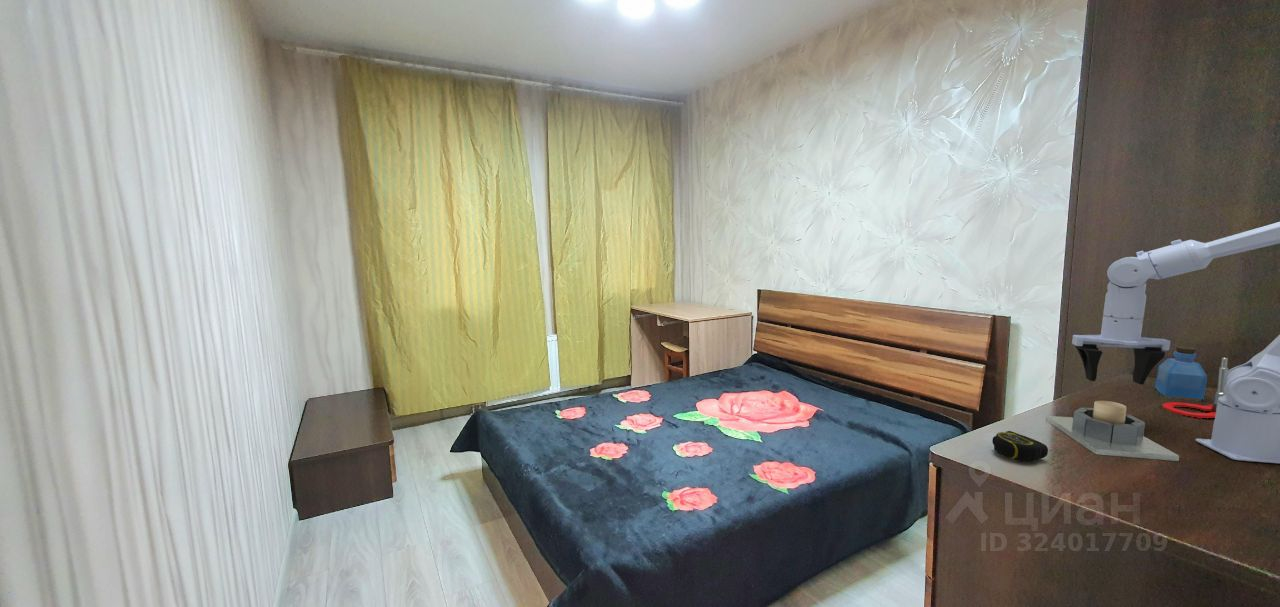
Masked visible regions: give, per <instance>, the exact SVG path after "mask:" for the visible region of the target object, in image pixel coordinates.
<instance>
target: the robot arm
mask: <svg viewBox="0 0 1280 607" xmlns="http://www.w3.org/2000/svg"><path fill="white" fill-rule="evenodd" d="M1278 244H1280V221H1278V222H1274V223H1271V224H1267V225H1264V226H1261V227H1256V228H1254V229H1250V230H1247V231H1242V232H1239V233H1236V234H1232V235H1228V236H1226V237H1225V236H1224V237H1222V238H1219V239H1215V240H1212V241H1208V242H1201V241H1198V240H1194V239H1188V240H1184V241H1182V239H1176V240H1173V241H1171V242H1170V245H1167V246H1163V247H1162V246H1161V247H1160V248H1156V249H1152V250H1149V251H1144V250H1140V251H1137V252H1135V254H1136V256H1126V257H1122V258H1120V259H1117V260H1116V261H1113V262H1112V263H1111V264H1110V266H1109V267H1108V268H1107V273H1106V274H1107V278H1108V280H1109V281H1108V284H1107V286H1106V289H1107V291H1106V293H1105V299H1104V306H1103V312H1102V322H1101V331H1100V334H1082V335H1081V334H1073V335H1072V340H1071V344H1072V345H1074V346H1075V349H1076V351H1077V354H1079V358H1080V359H1081V361H1082V364H1083V368H1084V371H1085V372H1084V373H1085V378H1086V379H1087V380H1088V381H1091V382H1096V380H1097V375H1098V367H1099V362H1100V360H1101V357H1102V355H1103V351H1102V350H1100V349H1099V347H1106V348H1109V347H1110V348H1111V347H1112V348H1124V349H1126V348H1129V349H1133V354H1134V367H1133V374H1132V382H1134V383H1136V384H1137V385H1144V384H1145V382H1146V380H1147V378H1148V376H1149V375H1150V373H1151V372H1152V370H1153V369H1154V367H1155V366H1157V364H1158V363H1160V362H1161V361H1162V360H1163V359H1164V358H1165V356H1166V351H1169V350H1170V347H1171V340H1168V339H1165V338H1156V337H1155V338H1152V337H1144V336H1142V332H1143V326H1144V325H1143V323H1144V316H1145V310H1146V302H1147V294H1146V289H1147V281H1148V280H1149V279H1150V280H1162V279H1167V278H1171V277H1175V276H1180V275H1182V274H1187V273H1191V272H1194V271H1200V270H1204V269H1206V268H1207V267H1208V266H1209V264H1210V263H1211V262H1212V261H1213V260H1214V259H1218V258H1222V257H1226V256H1230V255H1234V254H1239V253H1240V254H1241V253H1243V252H1249V251H1251V250H1252V251H1253V250H1257V249H1260V248H1265V247H1270V246H1273V245H1278ZM1224 381H1225V384H1226V386H1225V393H1226V395H1224V396H1221V397H1219V398H1218V402H1217V408H1216V414H1215V419H1213V425H1212V426H1213V427H1212V432H1211V438H1210V439H1209V438H1206V439H1205V438H1195V442H1196V443H1199V444H1201V445H1202V446H1205V447H1206V448H1209V449H1211V450H1213V451H1214V452H1218V453H1219V454H1221V455H1223V456H1226V457H1227V458H1229V459H1230V460H1235V461H1243V462H1244V461H1245V462H1255V463H1256V462H1257V463H1268V464H1269V463H1270V464H1280V334H1278V336H1276V338H1274V339H1273V340H1272V342H1270V344H1268V345H1267V346H1266V347H1265V348H1263V350H1261V351H1259V353H1257V354H1255V355H1254V356H1253V357H1251V358H1250V359H1249V360H1248V361H1247V362H1245V363H1243V364H1240V365H1236V366H1234V367H1232V368H1230V369H1228V372H1227V373H1226V375H1225V377H1224Z"/></svg>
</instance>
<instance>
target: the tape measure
mask: <svg viewBox="0 0 1280 607" xmlns="http://www.w3.org/2000/svg"><path fill="white" fill-rule="evenodd" d="M992 444H993V448H994V451H995V452H996V453H998V454H999V455H1000V456H1002V457H1005V458H1007V459H1011V460H1014V461H1015V460H1017V462H1024V463H1034V462H1037V461H1039V460H1040V459H1044V458H1046V457H1047V456H1048V453H1049V448H1048V446H1047V445H1046V443H1045V444H1044V443H1043V442H1040V441H1038V440H1036V439H1033V438H1031V437H1028V436H1026V435H1024V434H1023V435H1022V434H1020V433H1017V432H1015V431H1011V430H1008V431H1001V432H997V433H996V434H995V435H994V436H993V437H992Z"/></svg>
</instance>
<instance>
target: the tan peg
mask: <svg viewBox="0 0 1280 607" xmlns="http://www.w3.org/2000/svg"><path fill="white" fill-rule="evenodd" d="M1093 408H1094V411H1093V419H1097V420H1101V421H1105V422H1109V423H1118V424H1125V417H1126V414H1127V406H1126V405H1124V404H1122V403H1119V402H1115V401H1109V400H1095V401H1094V405H1093Z"/></svg>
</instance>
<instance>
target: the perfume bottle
mask: <svg viewBox="0 0 1280 607" xmlns="http://www.w3.org/2000/svg"><path fill="white" fill-rule="evenodd" d="M1196 350H1197V348H1195V347H1192V346H1186V345H1185V346H1184V345H1183V346H1182V345H1175V350H1174V351H1173V356H1174V358H1172V357H1171V358H1170V357H1167V359H1165V360H1164V361H1163V362H1162V363H1160V365H1158V367H1157V369H1158V370H1157V376H1156V382H1155V387H1154V388H1156V389H1157V390H1158V391H1159V392H1160V393H1162V394H1163V395H1164V396H1170V397H1183V398H1195V399H1196V398H1197V399H1203V400H1205V393H1206V386H1207V381H1208V375H1207V374H1206V372H1205V370H1204V369H1203V367H1202V366H1201V364H1200V363H1199V362H1197V361H1194V360H1195V359H1196V357H1197V353H1195V352H1196Z"/></svg>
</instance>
